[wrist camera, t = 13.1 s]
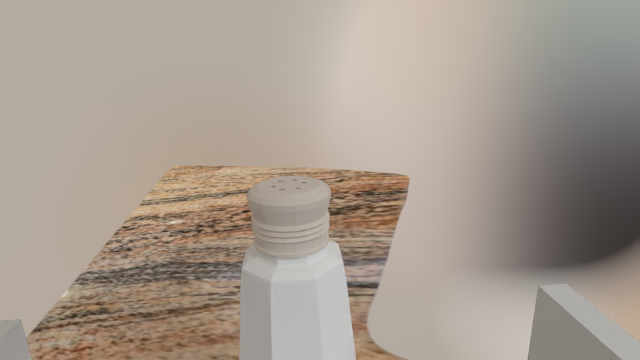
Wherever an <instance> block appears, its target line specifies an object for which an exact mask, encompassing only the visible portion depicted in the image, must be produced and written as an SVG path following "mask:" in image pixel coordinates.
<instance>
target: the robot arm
mask: <svg viewBox="0 0 640 360" xmlns="http://www.w3.org/2000/svg"><path fill="white" fill-rule="evenodd" d="M0 360H32V358H31V355H30V351H29V347H28V344H27V340H26V336H25V333H24V329H23V326H22V322H21V320H4V321H0ZM528 360H640V342H639V341H638V340H636V339H635V338H634V337H633V336H631V335H630V334H629V333H628V332H626V331H625V330H624V329H623V328H621V327H620V326H619V325H618V324H616V323H615V322H614V321H612V320H611V319H610V318H609V317H607V316H606V315H605V314H604V313H602V312H601V311H600V310H598V309H597V308H596V307H595V306H594V305H592V304H591V303H590V302H588V301H587V300H586V299H585V298H583V297H582V296H581V295H579V294H578V293H577V292H576V291H575V290H573V289H572V288H571V287H570V286H568V285H567V284H555V285H539V286H538V291H537V299H536V305H535V312H534V320H533V327H532V333H531V340H530V348H529V354H528Z"/></svg>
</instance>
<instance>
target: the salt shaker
mask: <svg viewBox="0 0 640 360" xmlns="http://www.w3.org/2000/svg"><path fill="white" fill-rule="evenodd" d="M330 198H331V190H330V187H329V186H328V185H327V184H326V183H324V182H323V181H320V180H317V179H314V178H310V177H305V176H283V177H276V178H271V179H267V180H264V181H262V182H260V183H258V184H256V185H254V186H253V187H252V188H250V190H249V191H248V193H247V200H248V204H249V206H250V209H251V211H252V214H253V215H252V217H251V221H252V225H251V226H252V232H253V234H254V235H255V239H254V245H253V246H251V247H249V248H247V249H246V252H245V257H244V261H243V266H242V275H241V291H240V357H239V360H356V356H355V348H354V339H353V331H352V323H351V315H350V307H349V298H348V290H347V282H346V276H345V271H344V265H343V259H342V256H341V252H340V249H339V246H338V244H337V243H335V242H333V241H331V240H329V235H328V233H327V231H328V229H329V227H330V225H329V221H330V220H329V216H330V214H329V211H328V210H327V209H328V206H329V202H330Z"/></svg>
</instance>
